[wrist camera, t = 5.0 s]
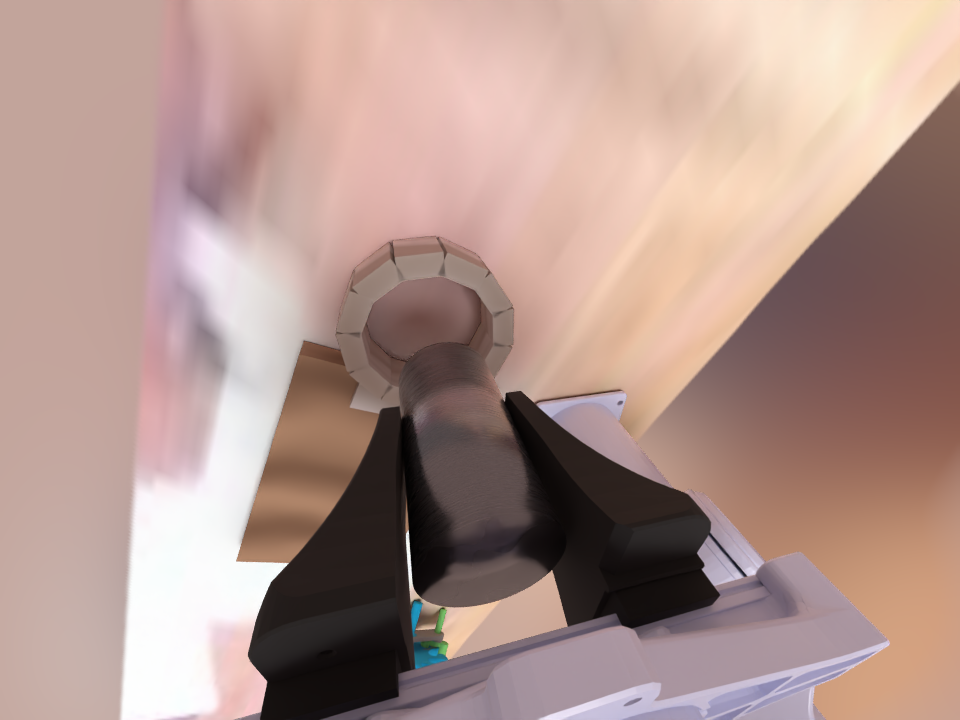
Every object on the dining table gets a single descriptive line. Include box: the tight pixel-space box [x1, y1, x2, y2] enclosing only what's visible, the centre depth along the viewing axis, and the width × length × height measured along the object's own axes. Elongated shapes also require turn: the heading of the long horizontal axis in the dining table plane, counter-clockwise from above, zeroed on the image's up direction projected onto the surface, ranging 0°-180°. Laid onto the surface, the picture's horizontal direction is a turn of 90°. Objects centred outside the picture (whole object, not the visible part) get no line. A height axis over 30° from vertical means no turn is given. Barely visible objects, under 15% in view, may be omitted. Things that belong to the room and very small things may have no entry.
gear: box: [411, 601, 448, 669], centre depth 40 cm, size 11×6×10 cm
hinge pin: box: [398, 342, 567, 607], centre depth 12 cm, size 4×4×8 cm
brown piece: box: [236, 236, 514, 563], centre depth 24 cm, size 29×12×3 cm, turn 153°
